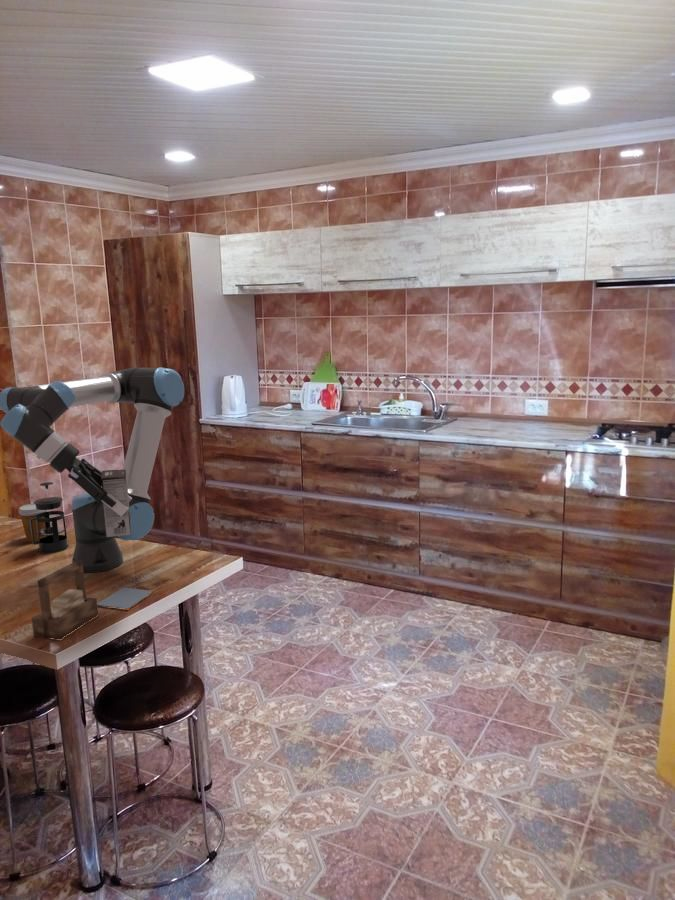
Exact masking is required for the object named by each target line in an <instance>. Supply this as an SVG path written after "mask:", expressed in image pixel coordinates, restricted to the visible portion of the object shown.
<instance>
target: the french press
mask: <svg viewBox="0 0 675 900" xmlns="http://www.w3.org/2000/svg"><path fill="white" fill-rule="evenodd" d="M51 485H54V483H53V482H52V481H46V482H41V483H40V484H39V486H40V487H41V486H43V487H45V489H46V495H47V496H46V497H43V498H38V499H35V501H33V503H34V504H35V505H36V509H37V510H47V512H43V513H40V514H37V515H36V517H35V518H30V528H31V536H32V542H31V544H33V545H38V552H39V553H43V554H52V553H53V552H54V553H58V552H62V550H63V551H65V550H67V549H68V548H69V543H68V537H67V526H66V518H65V517H66V516H65V512H64V511H63V510H54V509H58V508H60V507H61V506H62V501H63V500H64V498H63V497H59V496H52V497H51V496H49V490H48V489H49V486H51ZM53 515H55V516H54V517H52V516H53ZM56 515H58V516H56ZM43 516H44V518H40V517H43ZM32 520H36V525H37V534H38V541H36V542H34V535H33V526H32ZM60 520H62V522H63V523H62V524H63V526H58V521H60ZM38 522H45V528H44V529H42V530H40V531H39V526H38ZM62 533H63V534H62ZM40 535H42V536H46V537H43V538H41V539H40Z"/></svg>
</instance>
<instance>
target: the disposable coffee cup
mask: <svg viewBox="0 0 675 900" xmlns="http://www.w3.org/2000/svg"><path fill="white" fill-rule="evenodd" d="M43 512H48V510H37V509H36V505H35V504H34V502H33V503H28V504H24V505H22V506H20V507H19V509H18V514H19V517H20V519H21V523H22V526H23V530H24V534H25V538H26V541H27V542H30V543H32V536H31V528H30V518H35V517H36V515H37V514H40V513H43ZM40 518H44V516H43V517H40ZM32 526H33V535H34V542H38V534H37V525H36V520H32ZM38 526H39V531H40V530H42V529H44V528H45V522H38ZM43 537H46V536H42V535H40V539H41V538H43Z"/></svg>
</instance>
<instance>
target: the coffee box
mask: <svg viewBox="0 0 675 900" xmlns="http://www.w3.org/2000/svg"><path fill="white" fill-rule="evenodd" d="M101 482H102V488H103V489H104V491H105V492H107V494H108V493H110V494H111V495H112V496H114V497H115V498H116V499H117V500H119V501H120V502H121V503H122V504H124V505H125V506H126V507H128V510H127V511H126V512H125V513H124V514H123V515H122V516H120V515H118V514H117V513H116V512H115V511H113V510H112V509H111V508H110V507H108V506H107V505H106V504H104V503H103V505H104V516H105V526H106V536H107V537H113V536H123V535H130V534H131V524H130V510H129V498H128V487H127V476H126V469H123V468H122V469H108V470H105V469H104V470H101Z"/></svg>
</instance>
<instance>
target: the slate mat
mask: <svg viewBox="0 0 675 900" xmlns="http://www.w3.org/2000/svg"><path fill="white" fill-rule="evenodd" d="M152 591H153V590H149V589H147V590H146V589H142V588H141V589H140V588H132V587H125V586H123V587H122V588H121V589H119V590H117V591H115V592H114V593H113V594H110V595H109V596H108V597H106V598H104V599H103V600H101V601H100V602H97V606H105V607H116V608H125V609H128V608H130V607H131V606H133V605H134V604H136V603H137V602H139V601H140V600H142V599H143V598H145V597H146V596H147V595H149V594H150V593H152ZM149 592H150V593H149ZM148 593H149V594H148Z"/></svg>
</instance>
